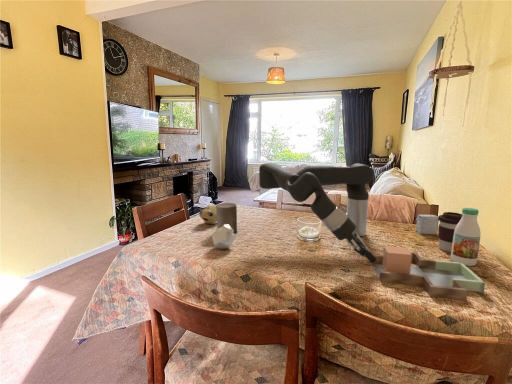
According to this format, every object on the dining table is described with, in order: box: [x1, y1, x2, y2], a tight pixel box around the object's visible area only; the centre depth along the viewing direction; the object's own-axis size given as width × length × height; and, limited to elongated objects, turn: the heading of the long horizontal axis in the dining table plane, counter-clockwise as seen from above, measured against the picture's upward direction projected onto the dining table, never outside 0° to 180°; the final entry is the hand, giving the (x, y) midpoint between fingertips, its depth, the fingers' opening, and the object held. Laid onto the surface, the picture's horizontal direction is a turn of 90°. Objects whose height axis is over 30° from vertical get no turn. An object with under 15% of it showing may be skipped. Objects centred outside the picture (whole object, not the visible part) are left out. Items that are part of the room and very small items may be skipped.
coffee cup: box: [437, 211, 462, 253], centre depth 113 cm, size 10×10×15 cm
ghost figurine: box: [212, 224, 236, 250], centre depth 115 cm, size 9×9×10 cm
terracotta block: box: [382, 245, 412, 274], centre depth 92 cm, size 7×6×8 cm
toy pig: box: [198, 203, 217, 225], centre depth 149 cm, size 10×12×11 cm
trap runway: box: [371, 251, 484, 301], centre depth 91 cm, size 28×26×4 cm
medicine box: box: [415, 214, 440, 235], centre depth 134 cm, size 8×4×9 cm, turn 84°
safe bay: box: [435, 259, 486, 294], centre depth 89 cm, size 8×14×4 cm, turn 167°
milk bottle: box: [450, 207, 482, 267], centre depth 101 cm, size 8×8×20 cm
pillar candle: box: [215, 202, 238, 235], centre depth 134 cm, size 10×10×15 cm
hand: (374, 260), depth 93 cm, fingers closed
